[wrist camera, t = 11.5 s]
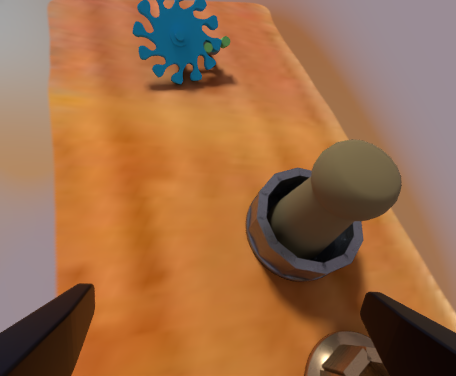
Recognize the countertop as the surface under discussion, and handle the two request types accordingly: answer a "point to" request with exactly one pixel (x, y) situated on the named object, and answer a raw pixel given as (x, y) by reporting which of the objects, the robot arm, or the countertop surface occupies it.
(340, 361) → the small collar
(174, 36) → the gear
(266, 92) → the countertop surface
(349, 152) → the cork
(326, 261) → the fitting collar
